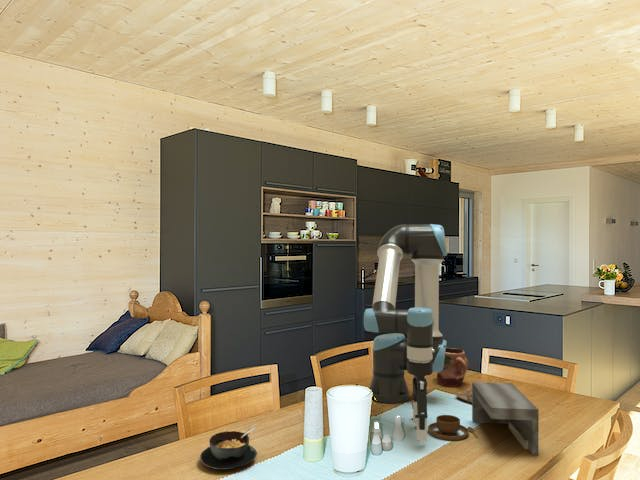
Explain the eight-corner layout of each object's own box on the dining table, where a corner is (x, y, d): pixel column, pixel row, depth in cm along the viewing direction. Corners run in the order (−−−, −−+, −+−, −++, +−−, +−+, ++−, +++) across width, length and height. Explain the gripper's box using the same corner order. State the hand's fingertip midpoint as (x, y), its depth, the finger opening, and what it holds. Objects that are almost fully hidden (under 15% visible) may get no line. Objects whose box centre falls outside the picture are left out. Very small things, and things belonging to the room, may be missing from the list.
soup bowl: (198, 451, 140) (198, 424, 140) (256, 445, 144) (256, 419, 144) (201, 475, 125) (201, 445, 125) (265, 467, 130) (265, 438, 130)
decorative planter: (480, 389, 198) (480, 354, 198) (454, 393, 193) (454, 356, 194) (450, 376, 216) (450, 344, 217) (426, 379, 212) (426, 346, 212)
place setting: (423, 442, 147) (423, 422, 147) (408, 418, 167) (409, 400, 167) (482, 442, 147) (483, 422, 147) (461, 418, 167) (461, 400, 167)
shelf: (491, 453, 138) (491, 407, 138) (472, 420, 164) (472, 382, 164) (538, 455, 137) (538, 409, 137) (511, 422, 162) (512, 383, 163)
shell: (474, 394, 193) (475, 384, 193) (501, 403, 182) (502, 393, 182) (452, 397, 187) (453, 387, 187) (479, 407, 176) (479, 397, 176)
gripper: (437, 371, 138) (437, 448, 138) (428, 351, 163) (427, 417, 163) (410, 370, 139) (409, 447, 139) (404, 350, 164) (404, 416, 164)
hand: (419, 431), depth 151 cm, fingers open, 13 cm apart
